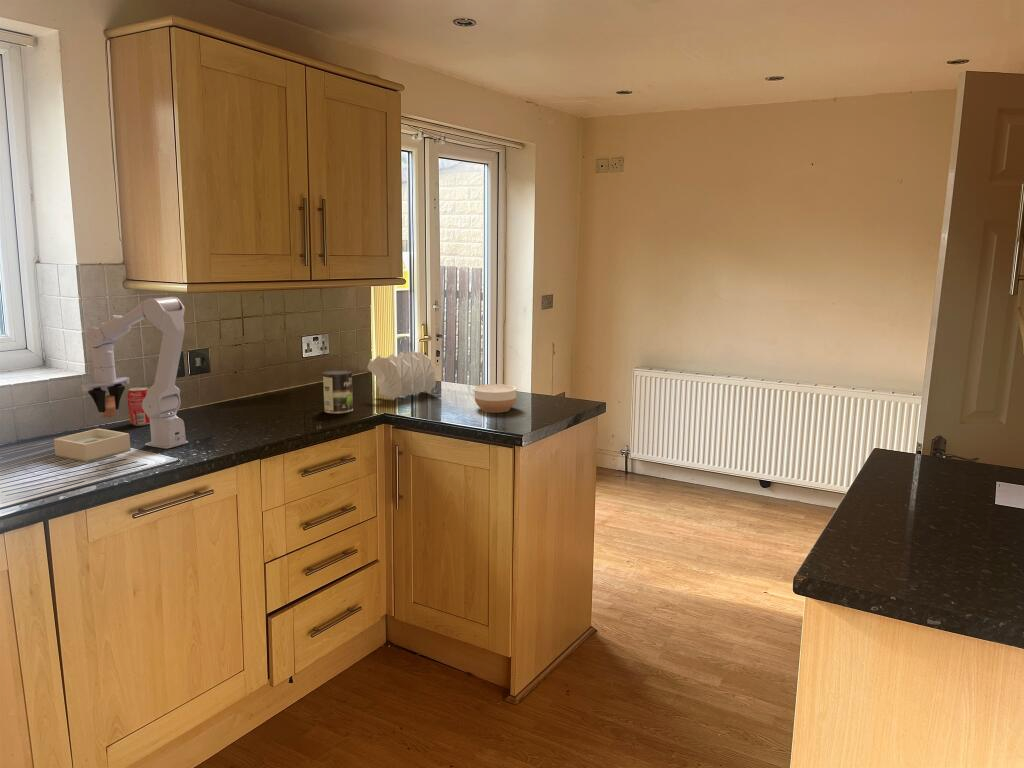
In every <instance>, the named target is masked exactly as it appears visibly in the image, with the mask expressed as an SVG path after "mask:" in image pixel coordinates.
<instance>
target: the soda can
mask: <svg viewBox="0 0 1024 768" xmlns="http://www.w3.org/2000/svg"><path fill="white" fill-rule="evenodd" d="M148 389H149V387H147V386H136V387H131V388H128V393H127V394H126V395H127V407H128V418H129V423H130V424H131V425H133V426H134V427H135V426H137V427H139V426H143V427H144V426H147V425H150V418H149V417H148V416H147V414H146V413H145V412H144V411H143V408H142V401H143V399H144V398H145V397H146V394H147V391H148Z"/></svg>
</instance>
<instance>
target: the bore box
mask: <svg viewBox="0 0 1024 768" xmlns="http://www.w3.org/2000/svg"><path fill="white" fill-rule="evenodd" d="M53 445H54V454H55V457H60V458H63V459H64V458H65V459H67V460H68V459H69V460H74V461H77V462H78V461H79V462H85V463H90V462H93V461H96V460H101V459H104V458H108V457H111V456H116V455H118V454H123V453H126V452H129V451H131V450H132V449H131V438H130V433H127V432H122V431H116V430H110V429H104V428H94V429H89V430H87V431H82V432H77V433H73V434H69V435H64V436H60V437H56V438H53Z"/></svg>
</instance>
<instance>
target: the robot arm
mask: <svg viewBox="0 0 1024 768" xmlns="http://www.w3.org/2000/svg"><path fill="white" fill-rule="evenodd" d="M185 310H186V307H185V306H184V304H183V302H181V300H180V299H179V298H178V297H176V296H167V297H158V298H150V297H149V298H147V299H146V300H144V301H142V302H141V301H140V304H138V305H137V306H136V307H134V308H133V309H132V310H130V311H129V312H127V313H126V314H124V315H121V314H119V315H118V314H113V315H111V316H110V317H109V318H110V319H109V320H108V321H106V322H101V323H100V324H99V326H98V327H90V328H89V329H88V330H87V331H86V333H85V340H86V343H87V344H88V345H89V347H91V356H92V364H93V373H94V375H93V376H94V381H91V382H87V383H84V384H83V383H82V384H80V386H81V391H82V392H87V393H88V394H89V395H90V397H91V398H92V399H93V402H94V404H95V406H96V408H97V409H96V410H97V412H98V413H101V412H102V413H103V412H105V396H106V393H107V391H108V393H109V395H113V396H115V405H116V411H117V410H119V408H120V402H121V398H122V396H123V393H124V391H125V390H126V386H125V384H126V385H129V384H130V377H129V376H128V377H127V376H124V377H117V375H116V372H117V371H116V365H115V353H114V350H115V349H116V346H115V345H116V342H117V340H118V339H120V338H121V337H123V336H125V335H126V334H128V333H129V332H130V331H131V329H132V326H133V325H135V324H136V323H139V322H142V321H143V320H145V319H146V318H147V320H148V321H149V322H150V323H151V324H152V325H154V326H155V327H156V328H157V330H160V331H161V332H162V339H161V343H160V350H159V356H158V362H157V366H156V372H155V377H154V383H153V384H152V385H151V386H150V387H148V391H147V394H146V397H145V398H144V399H143V401H142V408H143V411H144V412H145V413H146V414H147V416H148V417H149V418H150V424H149V426H150V427H149V429H150V439H151V440H150V442H146V443H145V444H144V445H145V446H149V447H153V448H160V449H165V450H167V449H168V450H169V449H170V448H175V447H179V446H181V445H186V444H189V441H188V440H187V439H186V437H187V436H186V427H185V422H184V420H183V418H180V417H178V416H177V413H178V410H179V409H180V407H181V403H182V402H181V401H182V400H181V395H180V394H181V389H180V388H179V387H178V386H177V385H176V380H177V375H178V371H179V363H180V359H181V353H182V349H183V343H184V342H183V341H184V338H185V330H186V328H185V321H184V317H185V312H186V311H185ZM105 388H106V389H107V391H106V390H104V389H105Z"/></svg>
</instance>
